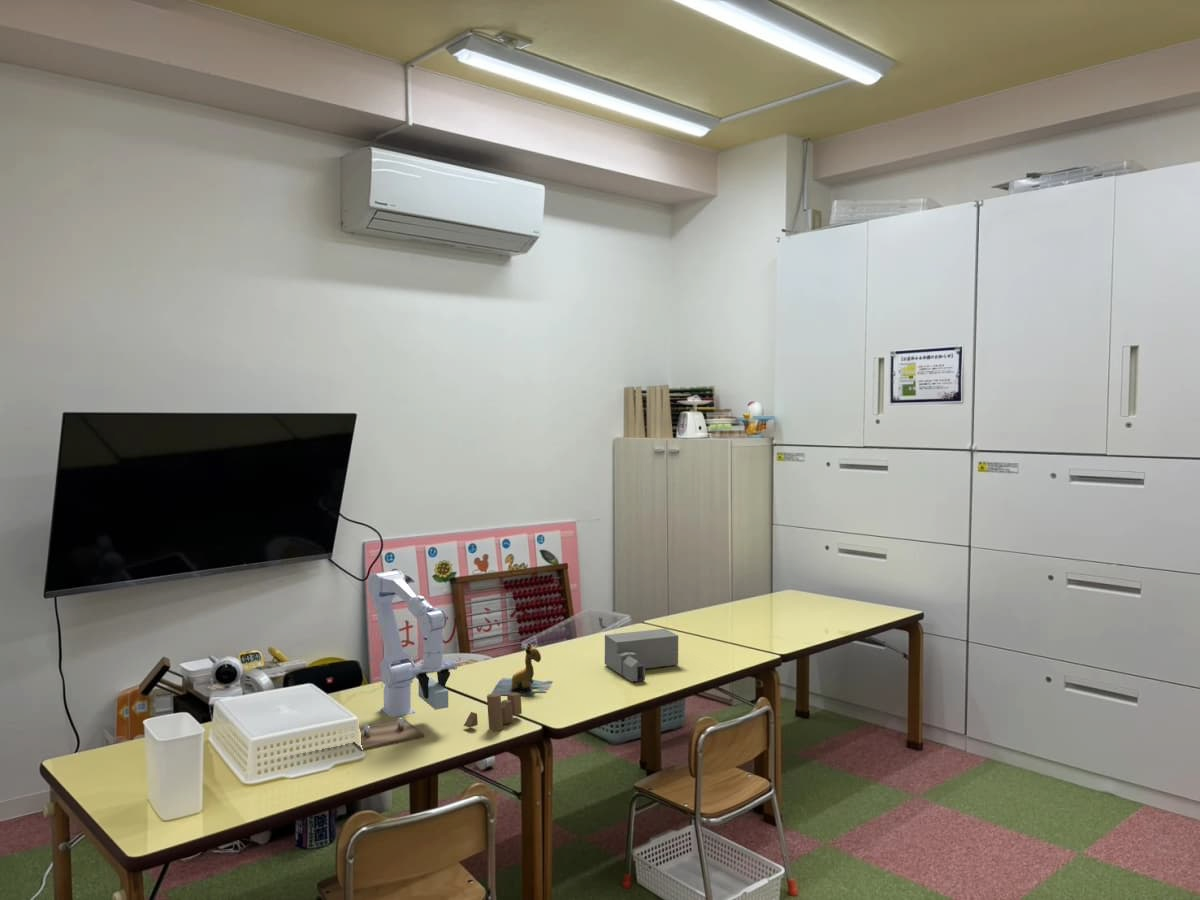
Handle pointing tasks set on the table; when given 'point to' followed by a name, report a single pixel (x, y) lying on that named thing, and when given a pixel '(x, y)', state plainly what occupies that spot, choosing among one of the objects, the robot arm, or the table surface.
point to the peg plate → (388, 733)
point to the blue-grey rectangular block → (435, 695)
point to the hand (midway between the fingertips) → (433, 696)
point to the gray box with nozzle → (640, 652)
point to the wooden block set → (498, 711)
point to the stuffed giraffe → (523, 678)
